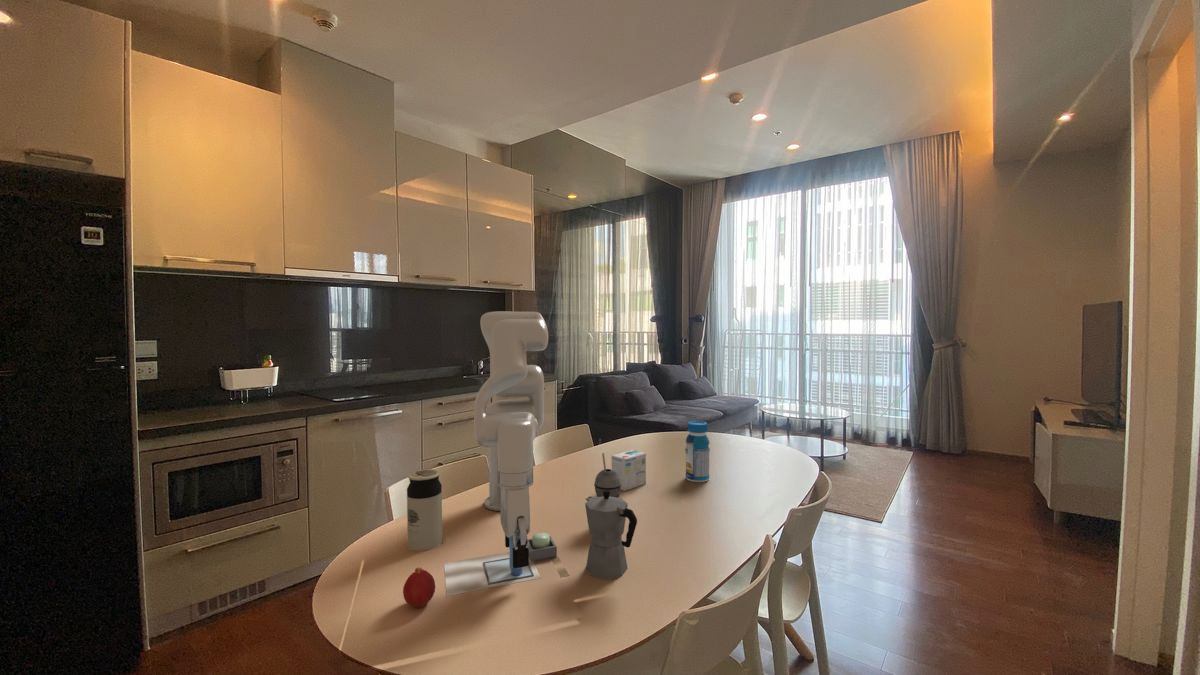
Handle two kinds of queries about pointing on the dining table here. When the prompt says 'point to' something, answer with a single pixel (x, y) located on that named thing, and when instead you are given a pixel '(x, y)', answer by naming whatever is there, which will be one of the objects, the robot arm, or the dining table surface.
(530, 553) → the button housing
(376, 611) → the dining table surface
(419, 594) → the onion
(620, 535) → the coffeepot
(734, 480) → the dining table surface
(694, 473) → the beverage bottle
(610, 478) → the beverage cup
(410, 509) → the travel mug
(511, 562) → the marker
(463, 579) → the clipboard
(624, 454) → the light bulb box
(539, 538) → the button
